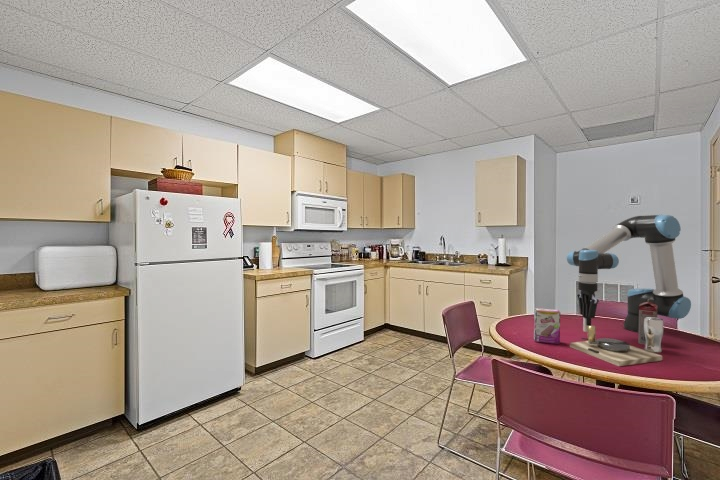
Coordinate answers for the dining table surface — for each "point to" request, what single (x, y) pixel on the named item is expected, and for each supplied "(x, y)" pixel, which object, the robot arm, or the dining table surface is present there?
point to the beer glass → (653, 334)
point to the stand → (617, 354)
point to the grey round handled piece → (606, 342)
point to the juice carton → (645, 311)
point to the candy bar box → (547, 326)
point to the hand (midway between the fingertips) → (586, 331)
